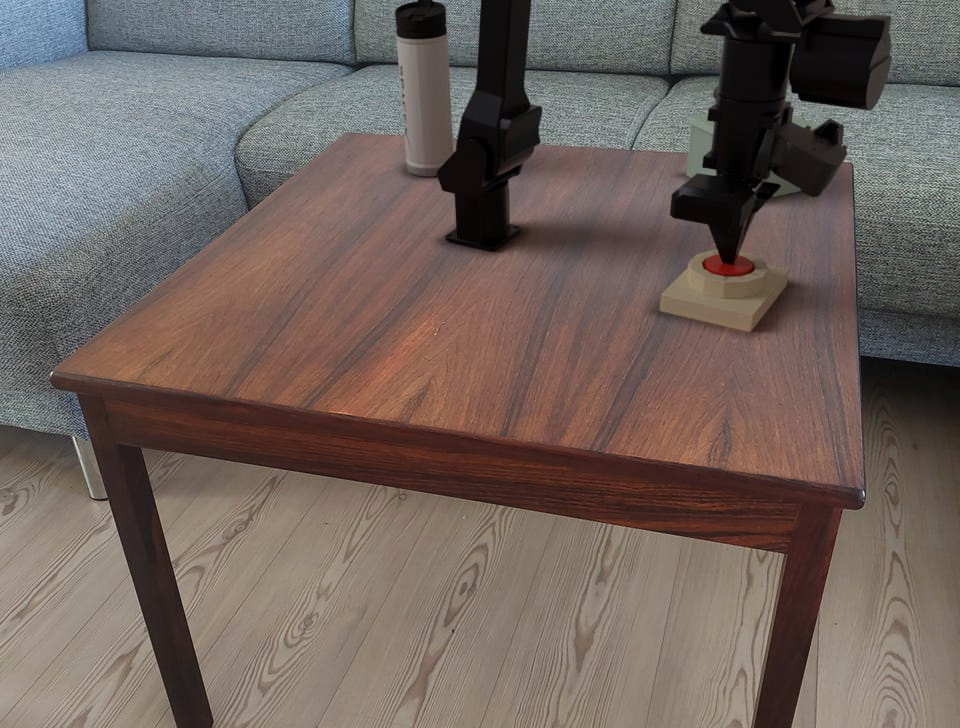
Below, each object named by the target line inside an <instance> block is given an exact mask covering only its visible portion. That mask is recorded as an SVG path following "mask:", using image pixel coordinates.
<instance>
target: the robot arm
mask: <svg viewBox="0 0 960 728" xmlns="http://www.w3.org/2000/svg"><path fill="white" fill-rule="evenodd" d="M531 9H532V0H480V9H479V23H478V24H479V25H478V43H477V45H478V46H477V61H476V62H477V63H476V80H475V86H474V90H473V91H472V93H471V97H470V98H469V100H468V102H467V105H466V106H465V109H464V111H463V113H462V114H461V117H460V122H459V128H458V132H457V138H456V143H455V151H453V154H452V155H451V156H450V157H449V158H448V160H447V161H446V162H445V163H444V164H443V165H442V166H441V167H440V168H439V169H438V170H437V176H436V177H437V179H438V182H439V185H440V189H441V190H442V192H446V193H450V194H454V209H455V210H454V211H455V213H454V215H455V229H453V230H451V231H450V232H448V233H447V234H446V235H445V236H444V237H445V241H446V242H450V243H454V244H459V245H464V246H469V247H474V248H476V249H477V248H478V249H481V250H486V251H495V250H497V249H498V248H500V247H501V246H503V245H504V244H505V243H507V242H508V241H510V240H511V239H512V238H514V237H516V236H517V235H518V234H519V233H521V232H522V226H520V225H516V224H511V223H510V222H511V221H510V219H511V215H510V213H511V212H510V187H509V184H510V183H509V182H510V180H511V179H513V178H514V177H518V176H519V175H521V173H522V169H523V167H524V164H525V162H526V161H528V160H529V158H531V157H532V156H533V154H534V151H535V147H537V146H538V145H540V144H541V138H540V125H541V119H542V116H543V107H542V106H541V105H535V104H534V105H533V104H531V102H530V98H529V97H528V94H527V92H526V88H525V78H526V66H527V54H528V45H529V34H530V33H529V32H530V23H531V21H530V20H531ZM835 11H836V7H835V5H834V2H833V0H727V1H726V2H723V3H722V4H720V6H719V8H718V9H717V10H716V12H715V13H714V14H713V15H712V16H711V17H710V18H708V19H707V20H706V21H705V22H704V23H702V24H701V25H700V26H699V32H700V33H701V34H702V35H706V36H707V35H709V36H716V37H724V38H723V44H722V52H721V61H720V69H719V79H718V85H717V86H718V95H717V103H716V102H715V103H714V104H713V105H711V106H710V107H709V108H708V110H707V113H708V119H707V121H714V130H713V139H712V147H711V150H710V151H709V152H708V153H707V154H706V155H704V156H703V164H702V168H708V169H714V170H716V173H717V174H716V175H715V176H712V175H706V174H700V173H697V174H696V175H694V176H693V177H692V178H689V179H688V180H687V181H685V182H684V183H683V184H682V185H680V186H679V187H678V188H677V189H676V190H674V191H673V192H672V193H671V197H670V207H669V209H670V210H669V216H671V218H673V219H676V220H681V221H687V222H692V223H697V224H703V225H707V226H708V229H709V231H710V234H711V237H712V240H713V242H714V245H715V247H716V250H718V253H719V256H720V258H721V261H722V263H725V264H729V265H732V264H733V263H734V262H735V261H736V259H737V257H738V254H739V252H740V251H741V249H742V247H743V245H744V242H745V240H746V237H747V235H748V232H749V230H750V227H751V226H752V224H753V223H752V222H753V220H754V218H755V215H756V214H757V213H758V212H759V211H760V210H761V209H762V208H763V207H764V206H765V205H767V203H768V201H769V200H770V199H772V198H773V197H772V196H773V195H774V194H775V193H776V192H777V191H778V190H779V189H780V188H781V185H780V184H777V183H771V182H766V180H767V179H768V178H769V177H770V172H771V171H772V172H773V173H774V174H775V175H777V176H778V177H780V178H782V179H784V180H785V181H787V182H789V183H791V184H793V185H794V186H796V187H798V188H800V189H801V191H800V192H801V193H802V194H804V195H806V196H808V197H811V198H819V197H820V196H821V195H822V193H823V192H824V191H825V190H826V189H827V188H828V187H829V186H830V184H831V182H832V181H833V179H834V177H835V176H836V174H837V172H838V170H839V169H840V167H841V165H842V164H843V163H844V161H845V159H846V157H847V156H848V151H847V150H848V148H849V147H848V145H846V144H843V143H844V142H843V141H844V131H845V130H844V129H845V127H844V126H845V125H843V124H842V123H840V122H838V121H836V120H834V119H832V118H828V119H827V120H825V121H824V122H822V123H821V124H819V126H818V127H817V128H815V129H814V130H813V131H812V130H810V129H811V127H810V126H808V125H807V126H806V127H805V128H803V127H801V126H799V125H797V124H795V123H793V122H792V116H793V115H794V110H795V109H794V107H793V106H792V101H786V99H787V93H788V86H789V85H790V93H791V94H795V95H796V94H797V97H798V100H799V101H801V102H805V103H810V104H811V103H812V104H818V105H824V106H825V105H826V106H833V107H840V108H847V109H853V110H861V111H868V112H869V111H872V110H873V109H874V108H875V107H876V106H877V104H878V102H879V100H880V98H881V96H882V95H883V94H882V93H883V92H884V89H885V85H886V82H887V81H888V76H889V72H890V69H891V65H892V61H893V55H891V49H892V36H891V33H890V30H891V29H890V28H891V24H892V17H891V16H890V15H887V14H869V15H855V14H846V13H844V14H843V13H835Z"/></svg>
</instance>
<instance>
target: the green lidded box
mask: <svg viewBox="0 0 960 728" xmlns="http://www.w3.org/2000/svg"><path fill="white" fill-rule="evenodd" d="M689 133H690V134H689V145H688V153H687V163H686V174H685V176H687V177H688V178H689V179H691V178H692V177H693V176H694V175H696V174H697V173H700V174H706V175H712V176H715V175H716V174H717V173H716V170H714V169H708V168H702V164H703V156H704V155H706V154H707V153H708V152H709V151H710V150H711V147H712V139H713V135H712V134H710V133H708V132H706V131H704V130H702V129H699V128H697V127H695V126H693V125H691V124H690V132H689ZM766 182H771V183H777V184H780V185H781V188H780V189H779V190H778V191H777V192H776V193H775V194H774V195H773V196H772V197H771V198H775V197H781V196H786V195H790V194H795V193H799V192H802V191H801V189H800V188H798V187H796V186H794V185H793V184H791V183H789V182H787V181H785V180H784V179H782V178H780V177H778V176H777V175H775V174H774V173H773V172H772V171H771V172H770V177H769V178H768V179H767V180H766Z"/></svg>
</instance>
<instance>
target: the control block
mask: <svg viewBox="0 0 960 728" xmlns="http://www.w3.org/2000/svg"><path fill="white" fill-rule="evenodd" d="M717 254H719V253H718V250H717V249H712V250H708V251H702V252H700V253H697V254H695V255H694V256H693V257H692V258H691V259H690V261H689V262H688V266H687V268H685V270H683V272H682V273H680V275H679V276H678V277H676V279H674V281H673V282H672V283H671V284H670V285H668V287H667V288H666V289H665V290H664V291H663V292H662V293H661V294H660V301H659V302H660V303H659V312H662V313H667V314H670V315H674V316H675V315H676V316H679V317H684V318H688V319H691V320H692V319H693V320H695V321H696V320H697V321H701V322H705V323H708V324H709V323H710V324H713V325H717V326H722V327H725V328H730V329H734V330H737V331H738V330H739V331H742V332H743V331H744V332H748V333H751V332H752V331H753V330H754V328H755V327H756V326H757V324H758V323H759V322H760V321H761V320H762V318H763V317H764V315H765V314H766V313H767V311H768V310H769V309H770V307H771V306H772V305H773V303H774V302H775V301H776V300H777V298H778V297H779V296H780V295H781V293H783V291H784V289H785V288H786V287H787V284H788V280H789V273H790V269H789V268H785V267H779V266H775V265H770V264H767V262H766V261H765V259H763V258H761V257H759V256H757V255H755V254H754V253H750V252H745V251H741V250H740V252H739V254H738V255H740V256H743V257H746V258H747V259H749V260H750V261H751V262H752V272H751V273H750V274H747V275H744V276H740V277H725V276H720V275H715V274H712V273H710V272H709V271H707V270H705V262H706V260H707V259H708V258H709V257H710V256H713V255H717Z"/></svg>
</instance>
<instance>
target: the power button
mask: <svg viewBox="0 0 960 728" xmlns="http://www.w3.org/2000/svg"><path fill="white" fill-rule="evenodd" d="M705 270H707V271H709V272H710V273H712V274H715V275H720V276H725V277H740V276H744V275H747V274H750V273H751V272H752V262H751V261H750V260H749V259H747V258H746V257H743V256H740V255H738V257H737V259H736V261H735V262H734V263H733V264H732V265H729V264H725V263H722V261H721V258H720V256H719V254H717V255H713V256H710V257H709V258H708V259H707V260H706V262H705Z"/></svg>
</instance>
